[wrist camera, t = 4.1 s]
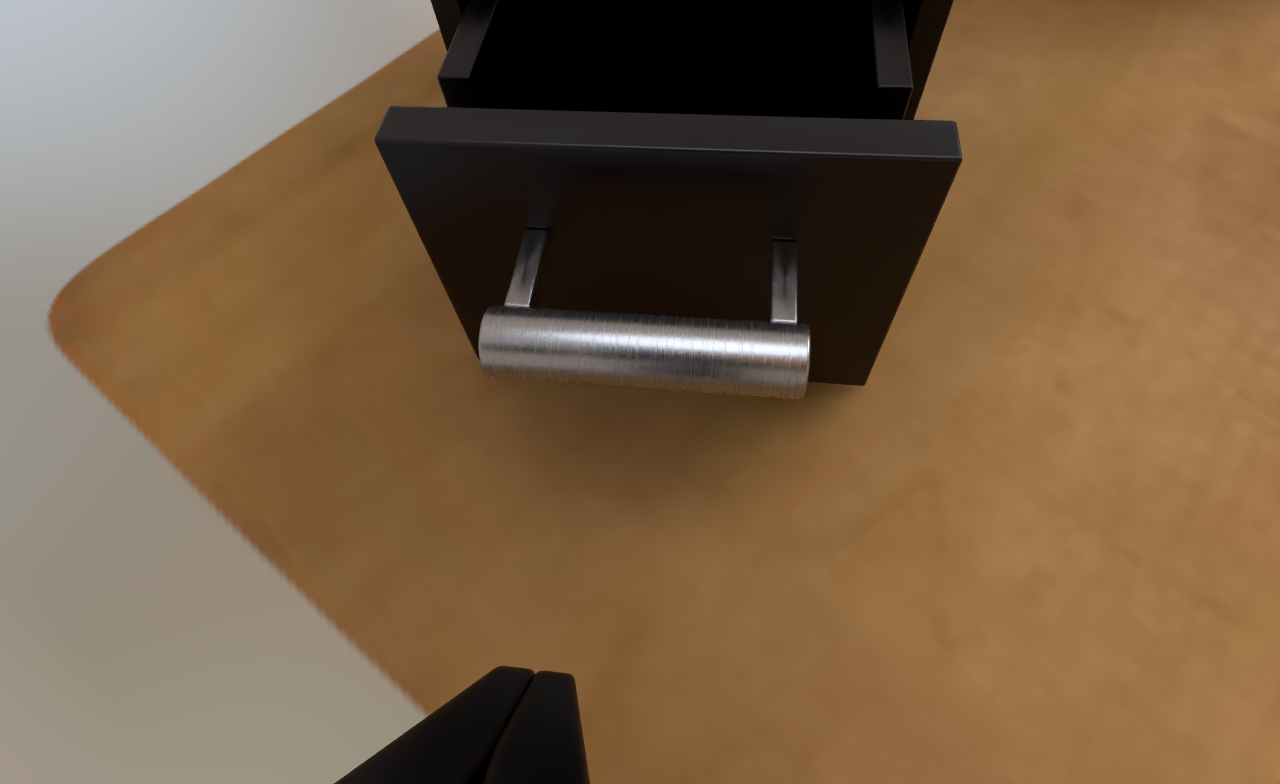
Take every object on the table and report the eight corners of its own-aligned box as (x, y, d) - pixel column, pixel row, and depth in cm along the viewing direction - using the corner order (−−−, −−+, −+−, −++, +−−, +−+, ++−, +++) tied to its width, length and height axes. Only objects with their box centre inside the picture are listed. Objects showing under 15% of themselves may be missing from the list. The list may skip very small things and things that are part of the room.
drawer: (871, 509, 19) (992, 321, 12) (446, 471, 20) (305, 281, 13) (848, 88, 28) (907, -169, 21) (556, 81, 30) (511, -163, 22)
